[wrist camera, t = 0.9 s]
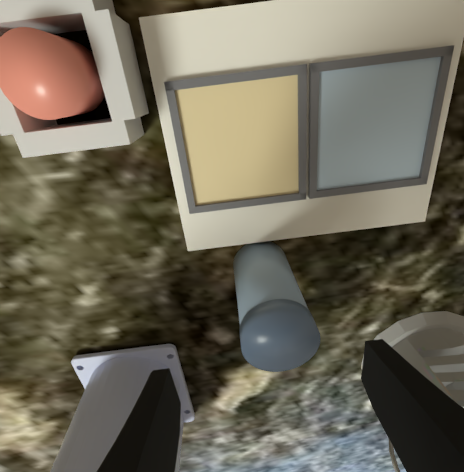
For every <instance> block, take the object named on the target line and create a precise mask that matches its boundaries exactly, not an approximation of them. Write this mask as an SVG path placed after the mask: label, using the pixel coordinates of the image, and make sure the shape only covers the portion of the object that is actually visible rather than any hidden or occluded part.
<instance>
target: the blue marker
mask: <svg viewBox="0 0 464 472" xmlns="http://www.w3.org/2000/svg"><path fill="white" fill-rule="evenodd" d="M233 268H234V277H235V286H236V295H237V304H238V313H239V323H240V341H241V350H242V354H243V356H244V358H245V359H246V360H247V361H248V362H249V363H250V364H251V365H253V366H254V367H256V368H258V369H261V370H265V371H272V372H278V371H286V370H290V369H293V368H296V367H298V366H301V365H302V364H304V363H306V362H307V361H308V360H309V359H311V358H312V357H313V355H314V354H315V353H316V351H317V349H318V347H319V344H320V333H319V331H318V328H317V326H316V324H315V321H314V319H313V317H312V314H311V313H310V311H309V310H308V307H307V305H306V303H305V300H304V298H303V296H302V293H301V291H300V289H299V286H298V284H297V282H296V279H295V277H294V275H293V272H292V270H291V268H290V265H289V263H288V261H287V258H286V256H285V254H284V252H283V250H282V249H281V248H280V247H279V246H278V245H277V244H275V243H273V242H270V241H266V242H258V243H250V244H246V245H244V246H243V247H242V248H241V249H240V250H239V251H238V252H237V254H236V255H235V258H234V262H233Z"/></svg>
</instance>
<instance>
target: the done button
mask: <svg viewBox="0 0 464 472" xmlns="http://www.w3.org/2000/svg"><path fill="white" fill-rule="evenodd" d="M0 88H1V90H2V92H3V93H4V95H5V96H6V97H7V98H8V100H9V101H10V102H11V103H12V104H13V105H14V106H16V107H17V108H18V109H19V110H21V111H22V112H24V113H26V114H28V115H30V116H32V117H35V118H38V119H43V120H54V119H59V118H64V117H69V116H74V115H79V114H84V113H88V112H91V111H93V110H94V109H96V108H97V107H98V106H99V105H100V104H101V102H102V101H103V99H104V96H105V94H104V91H103V87H102V84H101V80H100V76H99V73H98V69H97V66H96V62H95V59H94V55H93V53H92V52H91V51H90V50H89V49H88V48H86V47H85V46H83V45H81V44H80V43H77V42H75V41H72V40H69V39H66V38H63V37H60V36H57V35H54V34H51V33H48V32H44V31H41V30H38V29H35V28H30V27H18V28H14V29H11V30H9V31H7V32H6V33H4V34H3V35H2V36H1V37H0Z"/></svg>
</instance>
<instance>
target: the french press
mask: <svg viewBox="0 0 464 472" xmlns="http://www.w3.org/2000/svg"><path fill="white" fill-rule="evenodd" d="M379 339H383V340H384V341H385V342H386V343H388V344H389V345H390V346H391V347H392V348H393V349H394V350H395V351H396V352H398V353H399V354H400V355H401V356H402V357H403V358H404V359H405V360H407V361H408V362H409V363H410V364H411V365H412V366H413V367H414V368H416V369H417V370H418V371H419V372H420V373H421V374H423V375H424V376H425V377H426V378H427V379H428V380H430V381H431V382H432V383H433V384H434V385H436V386H437V387H438V388H439V389H440V390H442V391H443V392H444V393H445V394H446V395H448V396H449V397H450V398H451V399H452V400H454V401H455V402H456V403H457V404H459V405H460V406H463V405H464V316H461V315H458V314H454V313H451V312H448V311H439V312H424V313H420V314H417V315H414V316H411V317H408V318H406V319H403V320H400V321H397V322H396V323H394V324H393V325H392V326H390V327H389V328H387V329H386V330H384V331H383V332H381V333H380V334H378V335H377V336H376V338H375V339H374V340H379ZM363 358H364V356H363ZM362 367H363V361H362V365H361V369H362ZM389 452H390V456H391V460H392V464H393V467H394V469H395V471H396V472H400V470H399V468H398V464H397V461H396V458H395V455H394V449H393V445H392V443H391V441H390V439H389Z"/></svg>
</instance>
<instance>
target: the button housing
mask: <svg viewBox="0 0 464 472" xmlns="http://www.w3.org/2000/svg"><path fill="white" fill-rule="evenodd" d="M18 27H30V28H35V29H38V30H41V31H44V32H48V33H51V34H58V33H66V32H74V31H82V30H87V34H88V37H89V41H90V44H91V48H92V52H93V55H94V59H95V62H96V66H97V69H98V73H99V76H100V80H101V84H102V87H103V91H104V94H105V98H106V101H107V105H108V108H109V112H110V115H111V118H107V119H99V120H91V121H83V122H76V123H68V124H60V125H57V122H56V119H54V120H43V119H38V118H35V117H32V116H30V115H28V114H26V113H24V112H22V111H21V110H19V109H18V108H17V107H16V106H14V105H13V104H12V103H11V102H10V101H9V100H8V98H7V97H6V96H5V95H4V93H3V92H2V90H1V88H0V134H1V136H4V135H12V134H13V136H14V138H15V140H16V143H17V145H18V147H19V150H20V152H21V154H22V156H23V158H25V157H33V156H41V155H49V154H57V153H65V152H73V151H80V150H88V149H96V148H104V147H112V146H120V145H128V144H131V143H133V142H134V141H136V140H137V139H138V138H140V137H141V136H143V135H144V131H143V127H142V122H141V118H140V117H141V116H143V115H146V114H148V113H149V110H148V106H147V101H146V97H145V93H144V88H143V84H142V79H141V75H140V70H139V66H138V61H137V57H136V52H135V48H134V44H133V39H132V35H131V30H130V26H129V24H128V23H127V22H125V21H124V20H122V19H121V18H120V17H118V16H117V15H116V14H115V9H114V5H113V1H112V0H0V37H1V36H2V35H3V34H4V33H6V32H7V31H9V30H11V29H14V28H18Z"/></svg>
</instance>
